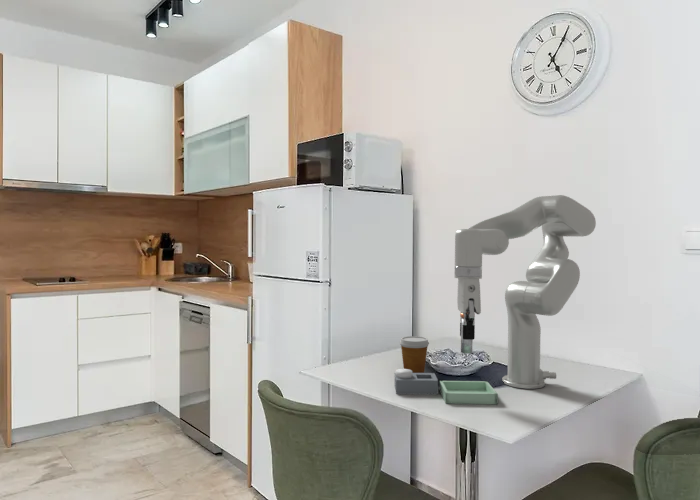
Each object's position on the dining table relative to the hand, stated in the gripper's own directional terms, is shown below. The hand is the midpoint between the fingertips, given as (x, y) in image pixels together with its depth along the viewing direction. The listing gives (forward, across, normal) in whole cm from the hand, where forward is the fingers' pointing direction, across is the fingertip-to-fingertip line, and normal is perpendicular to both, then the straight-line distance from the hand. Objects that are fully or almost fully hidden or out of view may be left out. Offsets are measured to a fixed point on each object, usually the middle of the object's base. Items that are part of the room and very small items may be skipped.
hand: (467, 337), depth 145 cm
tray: (+17, 0, 0) cm, 17 cm away
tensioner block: (+17, +6, +14) cm, 23 cm away
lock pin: (+4, 0, 0) cm, 4 cm away
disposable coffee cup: (+17, +22, +13) cm, 31 cm away
